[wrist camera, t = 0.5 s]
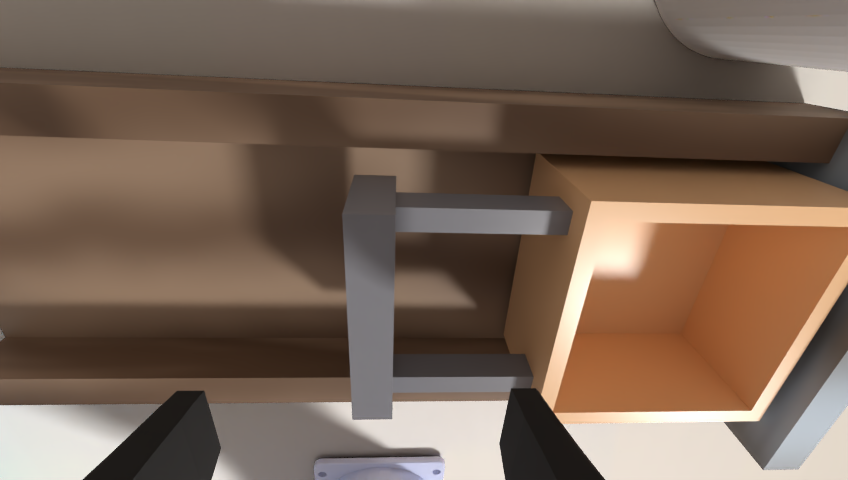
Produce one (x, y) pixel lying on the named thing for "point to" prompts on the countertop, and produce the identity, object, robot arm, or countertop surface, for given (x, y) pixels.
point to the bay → (318, 229)
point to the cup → (763, 30)
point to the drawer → (615, 286)
